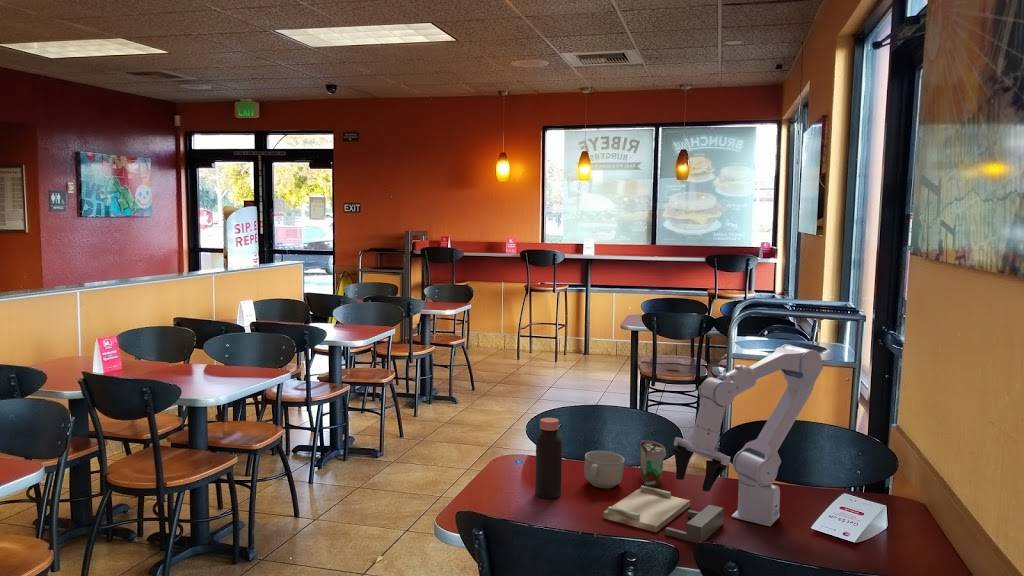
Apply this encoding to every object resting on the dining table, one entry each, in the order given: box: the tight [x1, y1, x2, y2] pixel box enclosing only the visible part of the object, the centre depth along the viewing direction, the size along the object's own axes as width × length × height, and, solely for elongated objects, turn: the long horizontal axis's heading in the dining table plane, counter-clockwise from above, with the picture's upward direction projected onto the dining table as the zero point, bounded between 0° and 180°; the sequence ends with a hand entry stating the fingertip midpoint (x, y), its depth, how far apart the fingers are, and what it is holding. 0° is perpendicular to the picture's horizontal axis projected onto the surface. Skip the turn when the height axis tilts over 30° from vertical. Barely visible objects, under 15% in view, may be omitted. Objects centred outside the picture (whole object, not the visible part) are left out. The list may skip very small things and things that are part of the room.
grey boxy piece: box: [664, 504, 724, 544], centre depth 180 cm, size 8×14×4 cm, turn 145°
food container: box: [639, 439, 667, 488], centre depth 211 cm, size 12×6×10 cm, turn 179°
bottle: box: [534, 417, 563, 500], centre depth 200 cm, size 7×7×20 cm
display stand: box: [602, 484, 691, 533], centre depth 190 cm, size 14×20×3 cm
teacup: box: [584, 450, 626, 489], centre depth 207 cm, size 14×11×8 cm
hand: (692, 484), depth 180 cm, fingers open, 7 cm apart
